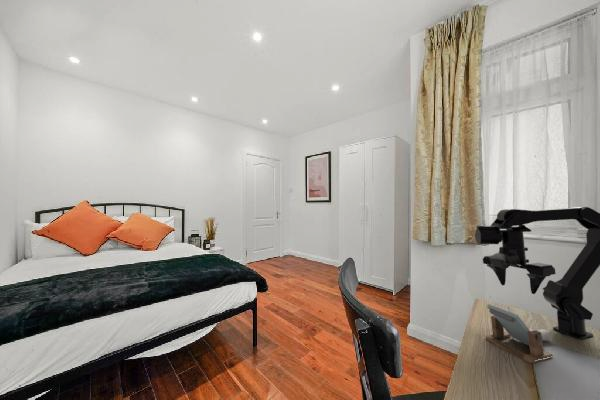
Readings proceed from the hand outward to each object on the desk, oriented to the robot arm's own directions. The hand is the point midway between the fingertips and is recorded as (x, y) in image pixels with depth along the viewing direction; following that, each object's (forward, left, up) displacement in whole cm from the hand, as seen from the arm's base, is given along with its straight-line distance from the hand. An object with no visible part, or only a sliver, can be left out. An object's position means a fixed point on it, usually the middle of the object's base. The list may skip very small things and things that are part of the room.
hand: (517, 289), depth 78 cm
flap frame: (+14, +8, -13) cm, 21 cm away
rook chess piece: (+9, +8, -11) cm, 16 cm away
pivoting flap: (+15, +8, -8) cm, 19 cm away
